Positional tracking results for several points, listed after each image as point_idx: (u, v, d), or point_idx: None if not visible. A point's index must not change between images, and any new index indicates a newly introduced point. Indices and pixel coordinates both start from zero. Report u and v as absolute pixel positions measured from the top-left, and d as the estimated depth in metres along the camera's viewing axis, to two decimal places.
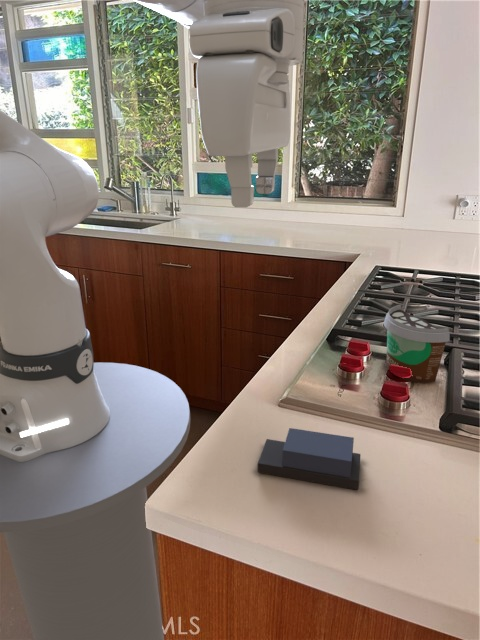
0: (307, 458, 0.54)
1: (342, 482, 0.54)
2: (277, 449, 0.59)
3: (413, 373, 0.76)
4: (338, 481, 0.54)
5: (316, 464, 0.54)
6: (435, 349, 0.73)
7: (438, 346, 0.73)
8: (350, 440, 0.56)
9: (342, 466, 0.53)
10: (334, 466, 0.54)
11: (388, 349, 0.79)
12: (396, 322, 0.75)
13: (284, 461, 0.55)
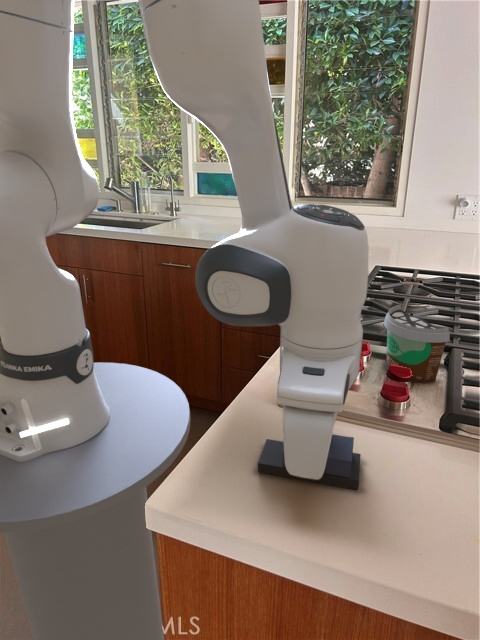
0: None
1: (342, 482, 0.54)
2: (277, 448, 0.59)
3: (413, 373, 0.76)
4: (338, 481, 0.54)
5: None
6: (435, 349, 0.73)
7: (438, 346, 0.73)
8: (350, 440, 0.56)
9: (342, 466, 0.53)
10: (334, 466, 0.54)
11: (388, 349, 0.79)
12: (396, 322, 0.75)
13: (284, 461, 0.55)
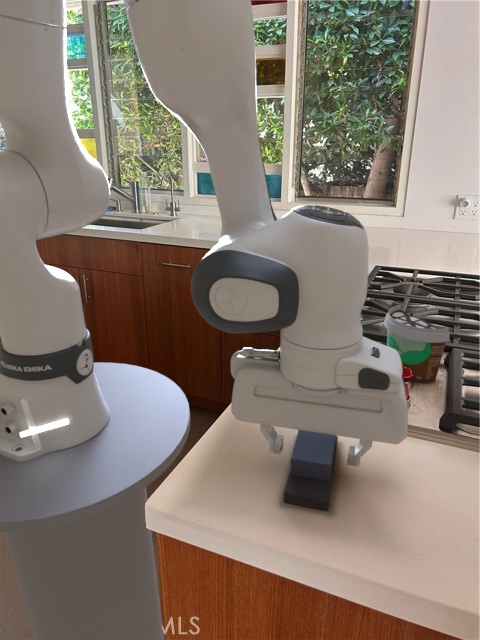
0: None
1: (336, 448, 0.60)
2: (301, 484, 0.53)
3: (413, 373, 0.76)
4: None
5: (333, 451, 0.56)
6: (435, 349, 0.73)
7: (438, 346, 0.73)
8: None
9: None
10: None
11: None
12: (396, 322, 0.75)
13: (330, 475, 0.53)
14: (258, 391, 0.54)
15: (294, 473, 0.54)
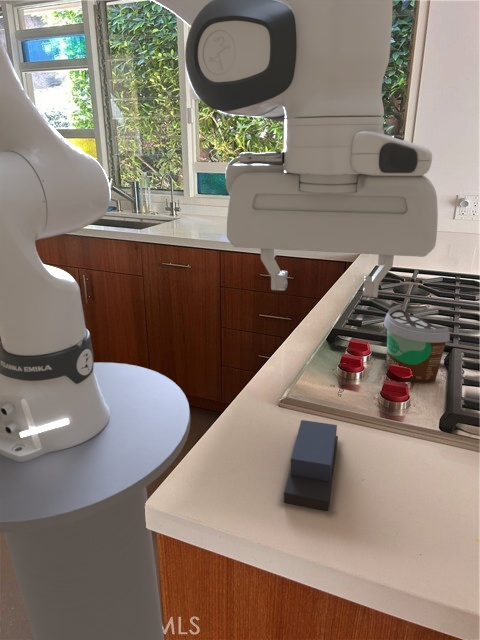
0: None
1: (336, 448, 0.60)
2: (301, 484, 0.53)
3: (413, 373, 0.76)
4: None
5: (333, 451, 0.56)
6: (435, 349, 0.73)
7: (438, 346, 0.73)
8: (305, 422, 0.60)
9: None
10: None
11: (388, 349, 0.79)
12: (396, 322, 0.75)
13: (330, 475, 0.53)
14: (258, 204, 0.45)
15: (294, 473, 0.54)
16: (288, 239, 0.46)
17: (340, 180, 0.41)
